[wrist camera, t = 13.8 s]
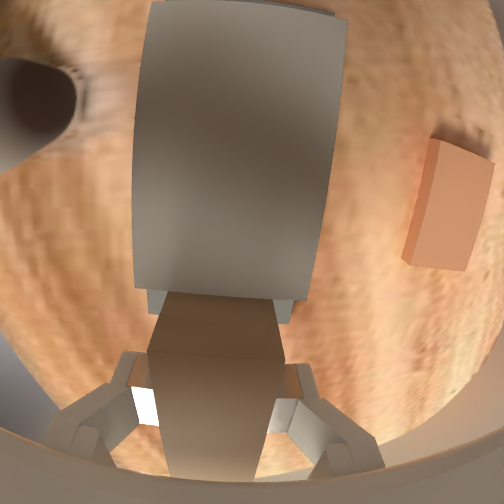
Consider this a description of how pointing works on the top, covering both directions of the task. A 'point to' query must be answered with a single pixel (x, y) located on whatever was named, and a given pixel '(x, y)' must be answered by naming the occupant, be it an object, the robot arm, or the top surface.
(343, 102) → the top surface
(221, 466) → the turner
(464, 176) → the tile
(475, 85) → the top surface
